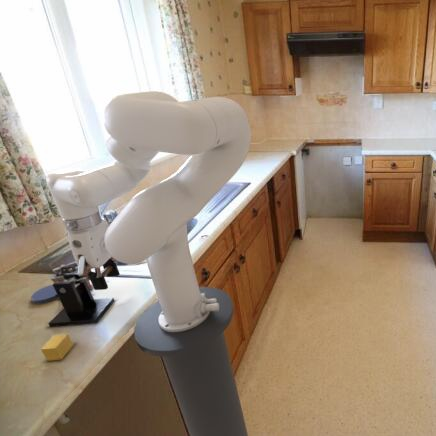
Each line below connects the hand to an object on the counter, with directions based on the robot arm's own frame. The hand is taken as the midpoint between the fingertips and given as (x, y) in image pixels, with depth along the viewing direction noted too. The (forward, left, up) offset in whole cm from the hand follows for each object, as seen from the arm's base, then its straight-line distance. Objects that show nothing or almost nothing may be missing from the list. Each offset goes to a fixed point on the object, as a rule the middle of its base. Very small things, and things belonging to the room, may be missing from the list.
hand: (107, 281), depth 85 cm
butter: (+6, +14, -10) cm, 18 cm away
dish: (+25, -10, -10) cm, 29 cm away
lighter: (+17, -10, -10) cm, 22 cm away
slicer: (+9, 0, -10) cm, 14 cm away
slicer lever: (+5, 0, 0) cm, 5 cm away
